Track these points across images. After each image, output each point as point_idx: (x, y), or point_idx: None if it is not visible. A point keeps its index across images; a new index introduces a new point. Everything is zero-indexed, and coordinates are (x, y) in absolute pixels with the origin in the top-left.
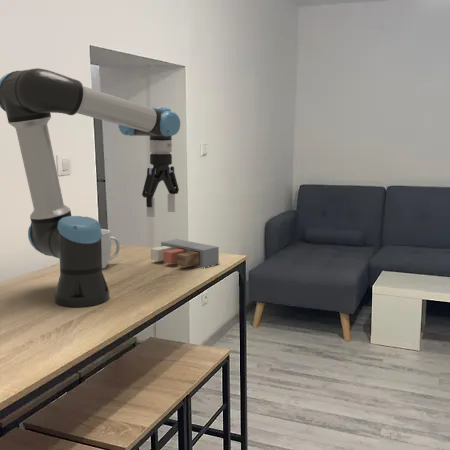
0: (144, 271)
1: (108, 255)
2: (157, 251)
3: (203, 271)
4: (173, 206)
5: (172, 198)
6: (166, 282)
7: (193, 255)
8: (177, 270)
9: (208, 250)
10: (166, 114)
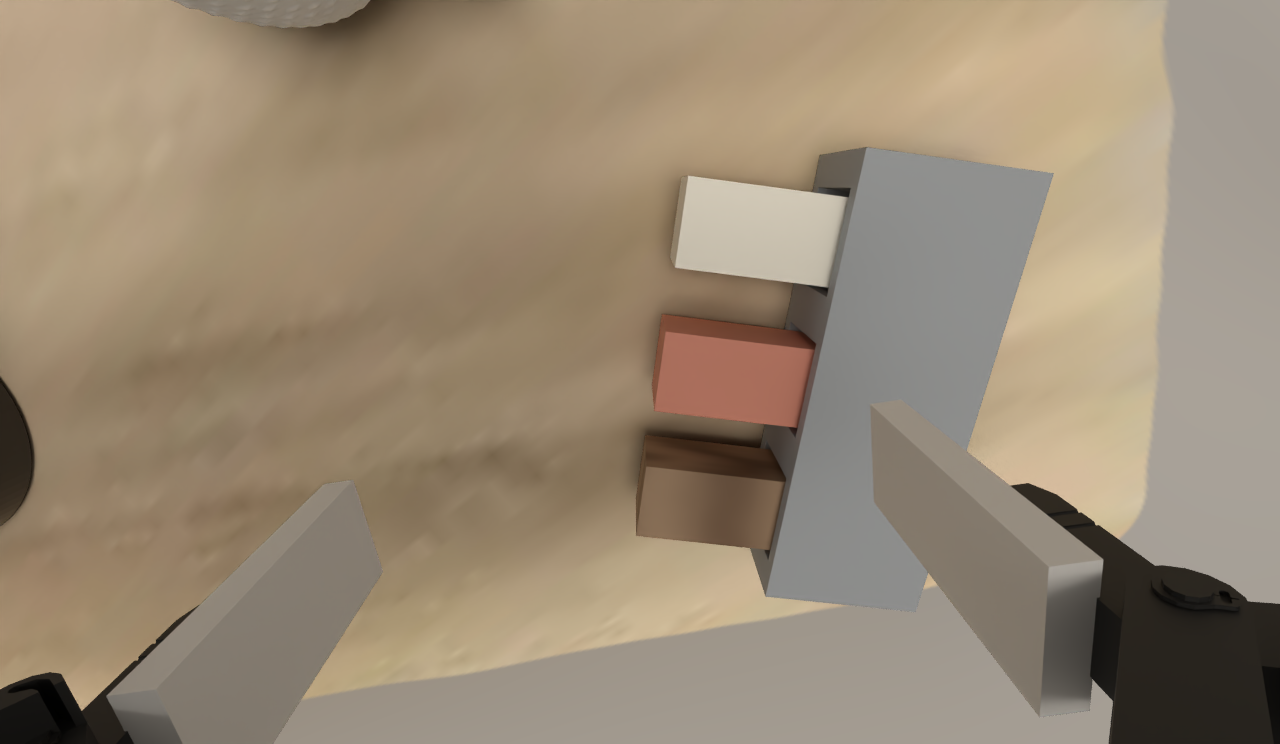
0: (480, 304)
1: (319, 20)
2: (674, 260)
3: (686, 563)
4: (909, 539)
5: (981, 612)
6: (395, 546)
7: (711, 539)
8: (621, 444)
9: (813, 595)
10: None
